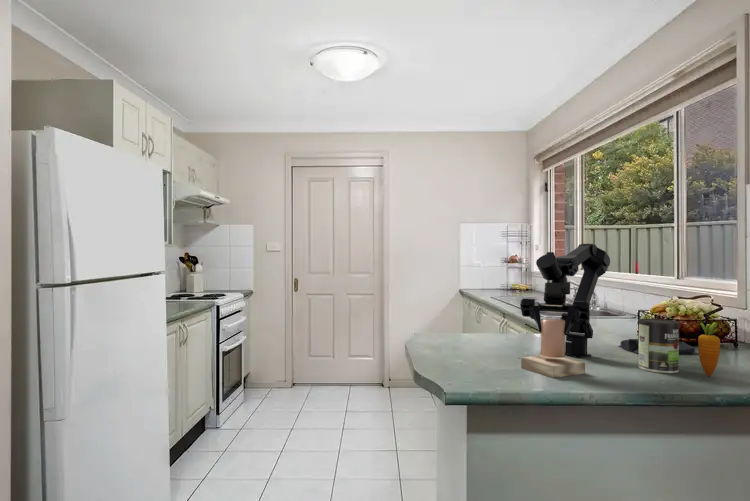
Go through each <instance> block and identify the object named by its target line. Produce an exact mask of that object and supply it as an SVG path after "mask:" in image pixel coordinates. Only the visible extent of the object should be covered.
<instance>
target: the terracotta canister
mask: <svg viewBox="0 0 750 501" xmlns="http://www.w3.org/2000/svg"><path fill="white" fill-rule="evenodd" d="M565 341H566V336H565V320H563V319H560V318H554V317H553V318H549V317H547V318H541V333H540V355H542V356H546V357H553V358H561V357H565V356H566V355H565Z"/></svg>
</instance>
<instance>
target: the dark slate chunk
mask: <svg viewBox="0 0 750 501" xmlns="http://www.w3.org/2000/svg"><path fill="white" fill-rule="evenodd" d="M617 347H618V348H621V349H622V350H624V351H626V352H629V353H632V354H636V355H639V338H629V339H623V340H621V341H620V345H618V346H617ZM694 352H696V348H695V347H694V346H691V345H690V344H688V343H686V342H684V341H679V355H687V354H691V353H692V354H693V353H694Z"/></svg>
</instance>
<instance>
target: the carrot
mask: <svg viewBox="0 0 750 501" xmlns="http://www.w3.org/2000/svg"><path fill="white" fill-rule="evenodd" d="M699 325H700V326H701V328H702V330H703V331H704V334H700V335H699V336H698V339H697V344H698V345H697V347H698V355H699V362H700V365H701V368H702V370H703V372H704V374H705V375H706V376H707V377H711V376H712V375H713V373H714V372H715V370H716V369H717V366H718V364H719V363H718V362H719V358H720V351H721V350H720V349H721V339H720V338H719V337H718V336H716V335H715V333H716V332H718V329H716V327H717V325H718V324H717V322H715V321H714V322H712V324H709V323H707V324H706V326H705V324H704V322H700V323H699Z"/></svg>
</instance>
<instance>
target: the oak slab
mask: <svg viewBox="0 0 750 501" xmlns="http://www.w3.org/2000/svg"><path fill="white" fill-rule="evenodd" d="M520 361H521V362H520V364H521V365H520V368H521V369H524V370H527V371H530V372H533V373H537V374H540V375H542V376H546V377H548V378H553V379H554V378H562V377H568V376H569V377H570V376H576V375H577V376H578V375H582V374H586V362H585V361H580V360H576V359H573V358H569V357H561V358H553V357H546V356H542V355H541V354H539V355H533V356H530V355H529V356H523V357H522V356H521V359H520Z"/></svg>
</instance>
